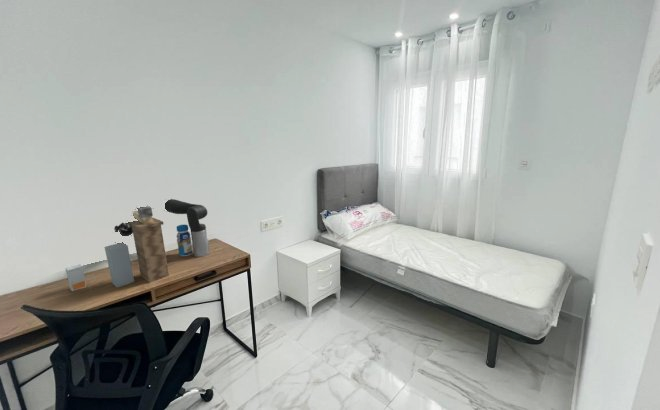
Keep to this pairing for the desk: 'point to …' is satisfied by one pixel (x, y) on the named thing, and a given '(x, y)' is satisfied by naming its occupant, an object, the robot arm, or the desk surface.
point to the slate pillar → (119, 264)
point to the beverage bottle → (184, 240)
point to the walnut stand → (150, 249)
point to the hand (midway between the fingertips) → (131, 222)
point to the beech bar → (143, 214)
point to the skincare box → (76, 277)
